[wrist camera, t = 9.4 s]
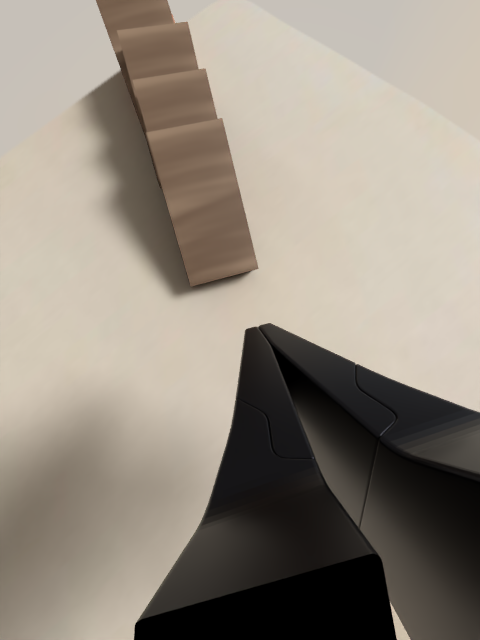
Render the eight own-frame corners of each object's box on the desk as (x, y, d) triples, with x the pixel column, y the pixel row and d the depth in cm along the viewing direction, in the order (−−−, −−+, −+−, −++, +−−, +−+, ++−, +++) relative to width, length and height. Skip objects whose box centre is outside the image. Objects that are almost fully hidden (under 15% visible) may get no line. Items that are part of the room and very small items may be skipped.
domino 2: (240, 216, 20) (205, 68, 18) (175, 232, 20) (132, 79, 18) (237, 221, 22) (204, 85, 20) (176, 235, 21) (137, 96, 19)
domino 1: (258, 268, 19) (222, 118, 18) (190, 286, 19) (146, 132, 17) (253, 269, 21) (219, 131, 19) (190, 286, 20) (150, 145, 18)
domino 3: (221, 169, 21) (187, 21, 19) (157, 181, 20) (116, 30, 19) (219, 176, 23) (188, 41, 21) (160, 188, 22) (122, 49, 20)
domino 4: (202, 113, 22) (155, -37, 20) (143, 129, 21) (88, -22, 19) (202, 123, 23) (158, -14, 21) (146, 139, 23) (96, 0, 21)
